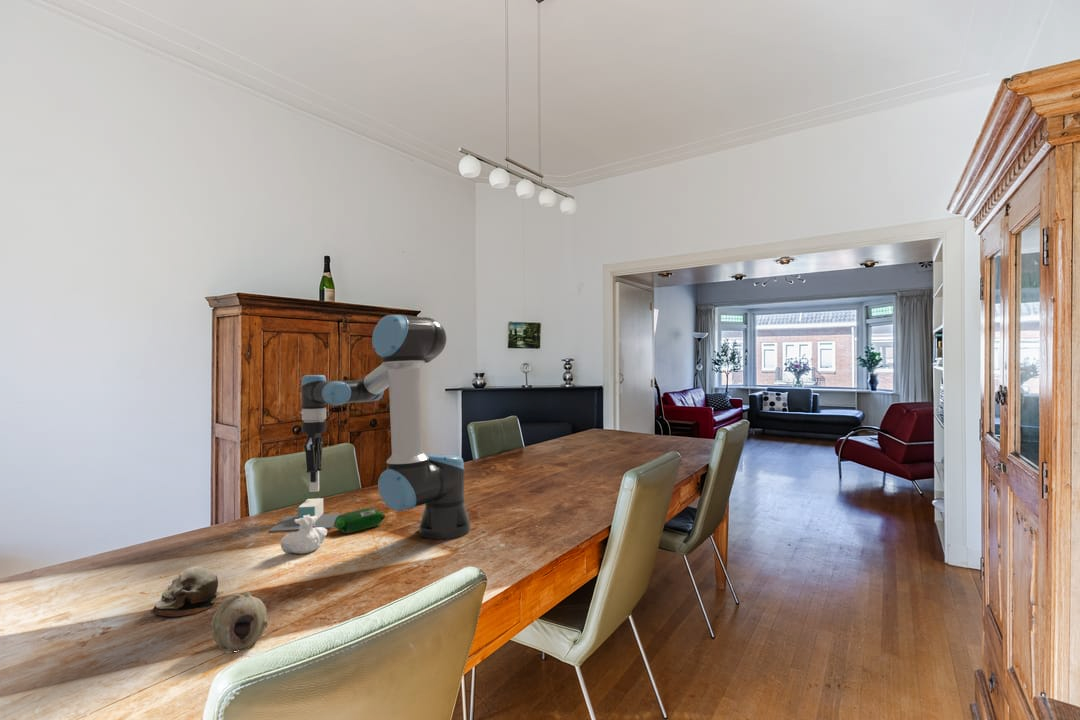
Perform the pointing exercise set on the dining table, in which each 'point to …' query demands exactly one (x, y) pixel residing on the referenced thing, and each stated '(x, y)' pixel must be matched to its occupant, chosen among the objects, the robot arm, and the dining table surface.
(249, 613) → the grey-brown rounded hollow piece
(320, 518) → the rubber mat
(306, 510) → the tall block
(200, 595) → the skull
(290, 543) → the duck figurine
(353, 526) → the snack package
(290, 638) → the dining table surface
